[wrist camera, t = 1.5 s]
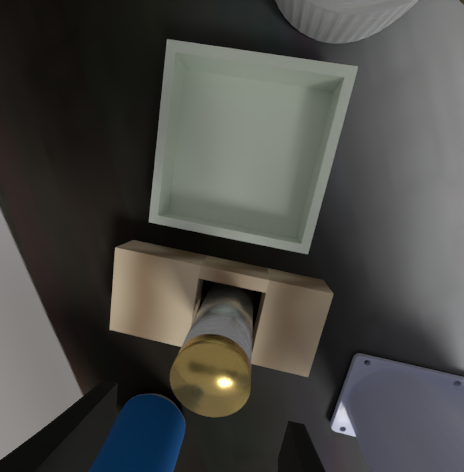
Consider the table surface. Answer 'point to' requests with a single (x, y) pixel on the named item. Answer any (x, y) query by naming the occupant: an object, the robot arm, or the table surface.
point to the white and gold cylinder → (216, 354)
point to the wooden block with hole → (189, 295)
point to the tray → (246, 143)
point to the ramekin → (342, 17)
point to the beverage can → (143, 437)
